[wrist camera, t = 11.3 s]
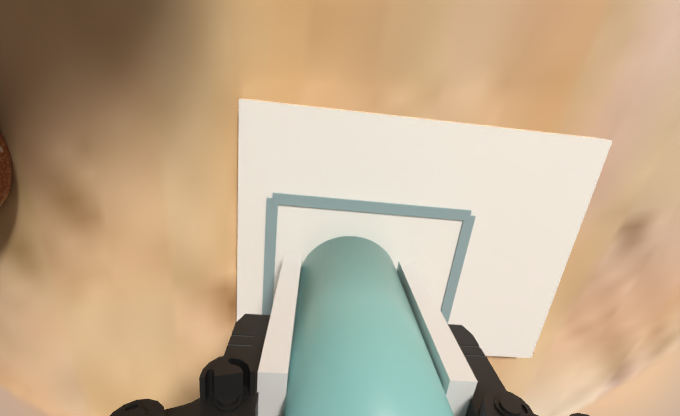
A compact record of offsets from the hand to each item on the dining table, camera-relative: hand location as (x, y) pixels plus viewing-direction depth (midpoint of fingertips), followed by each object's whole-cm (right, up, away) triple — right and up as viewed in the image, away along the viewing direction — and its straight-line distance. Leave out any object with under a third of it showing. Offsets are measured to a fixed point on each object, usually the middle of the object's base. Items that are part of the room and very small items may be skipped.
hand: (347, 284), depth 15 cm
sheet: (+3, +2, +2) cm, 4 cm away
